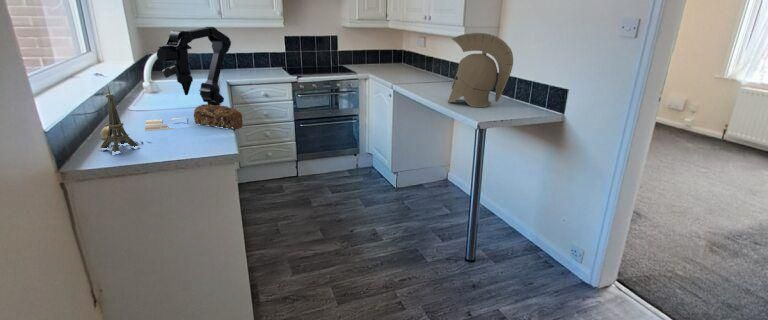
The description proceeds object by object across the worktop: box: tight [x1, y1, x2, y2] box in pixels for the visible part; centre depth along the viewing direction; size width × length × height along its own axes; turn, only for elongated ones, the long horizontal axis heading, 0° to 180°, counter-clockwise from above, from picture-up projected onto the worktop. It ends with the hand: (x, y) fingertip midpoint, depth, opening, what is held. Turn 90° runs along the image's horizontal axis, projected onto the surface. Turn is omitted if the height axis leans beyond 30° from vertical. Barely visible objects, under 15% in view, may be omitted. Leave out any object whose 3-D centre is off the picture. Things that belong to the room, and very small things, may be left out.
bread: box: [193, 103, 244, 130], centre depth 192 cm, size 19×11×10 cm, turn 68°
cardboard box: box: [144, 123, 174, 132], centre depth 188 cm, size 9×17×2 cm, turn 116°
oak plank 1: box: [144, 118, 163, 126], centre depth 193 cm, size 8×6×2 cm
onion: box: [100, 123, 122, 140], centre depth 171 cm, size 8×8×7 cm
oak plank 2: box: [171, 116, 188, 122], centre depth 198 cm, size 8×6×2 cm
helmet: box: [447, 32, 514, 108], centre depth 246 cm, size 20×36×40 cm, turn 64°
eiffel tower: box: [99, 82, 139, 152], centre depth 159 cm, size 11×11×25 cm
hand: (186, 94), depth 198 cm, fingers closed
